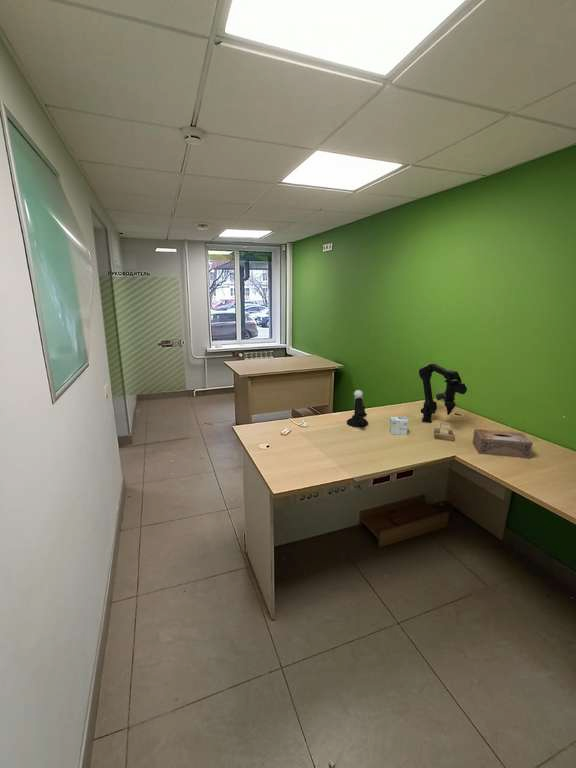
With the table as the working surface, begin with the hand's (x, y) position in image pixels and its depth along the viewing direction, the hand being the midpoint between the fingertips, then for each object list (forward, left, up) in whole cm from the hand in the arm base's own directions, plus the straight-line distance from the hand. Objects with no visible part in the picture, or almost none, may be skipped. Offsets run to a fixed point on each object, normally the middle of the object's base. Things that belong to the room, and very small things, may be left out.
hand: (447, 412), depth 224 cm
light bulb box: (+16, -30, -13) cm, 36 cm away
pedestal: (+12, -2, -13) cm, 18 cm away
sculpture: (+12, -57, -13) cm, 60 cm away
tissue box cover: (+22, +28, -14) cm, 38 cm away
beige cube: (+12, -2, -10) cm, 16 cm away
